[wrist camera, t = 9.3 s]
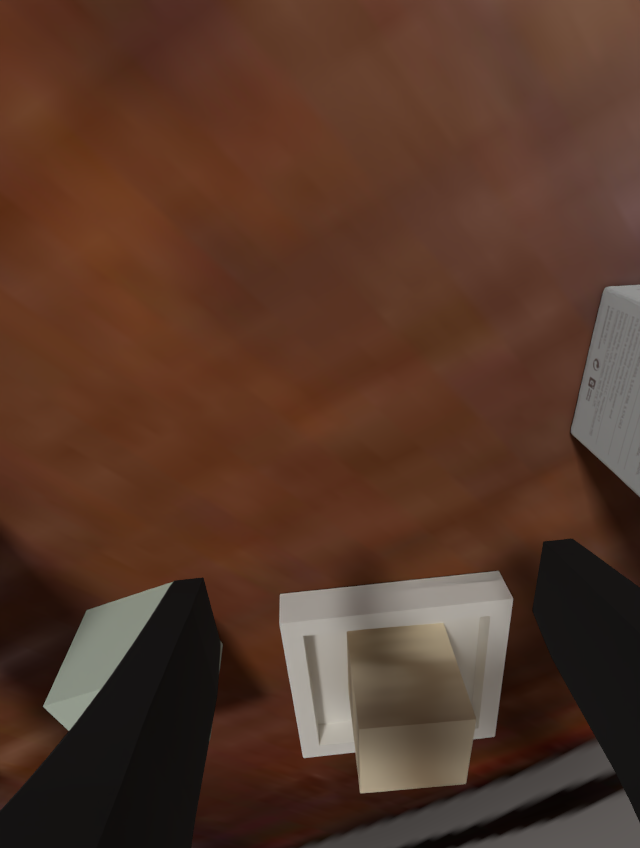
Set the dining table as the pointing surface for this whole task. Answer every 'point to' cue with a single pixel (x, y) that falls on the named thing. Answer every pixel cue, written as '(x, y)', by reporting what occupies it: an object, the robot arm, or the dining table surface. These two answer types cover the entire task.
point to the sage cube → (99, 652)
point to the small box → (613, 386)
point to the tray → (380, 608)
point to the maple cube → (408, 708)
